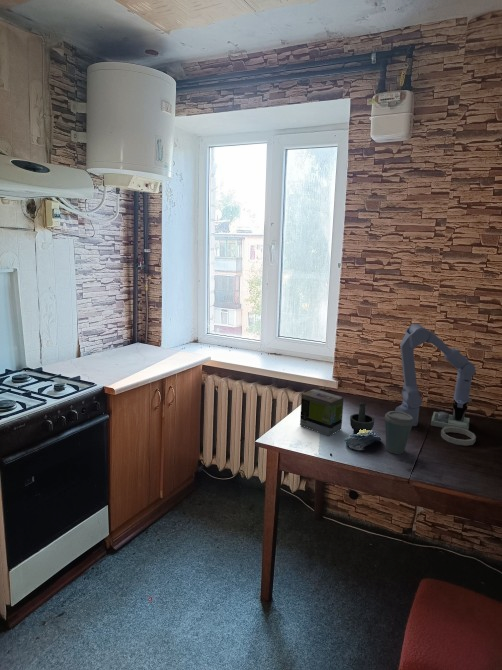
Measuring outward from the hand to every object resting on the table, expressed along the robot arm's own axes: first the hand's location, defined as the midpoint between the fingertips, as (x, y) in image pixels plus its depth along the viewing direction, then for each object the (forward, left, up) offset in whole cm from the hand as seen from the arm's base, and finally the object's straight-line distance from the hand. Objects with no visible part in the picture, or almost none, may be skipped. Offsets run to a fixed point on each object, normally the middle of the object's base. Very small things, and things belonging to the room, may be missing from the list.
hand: (458, 417), depth 191 cm
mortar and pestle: (-44, +6, -5) cm, 45 cm away
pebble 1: (-4, +4, -3) cm, 7 cm away
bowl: (-9, -10, -4) cm, 14 cm away
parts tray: (-2, +2, -4) cm, 5 cm away
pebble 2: (0, 0, -1) cm, 1 cm away
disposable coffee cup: (-39, -11, -5) cm, 41 cm away
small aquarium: (-58, +15, -5) cm, 60 cm away
